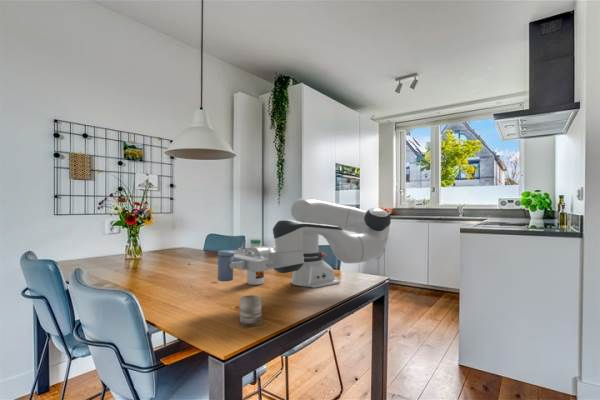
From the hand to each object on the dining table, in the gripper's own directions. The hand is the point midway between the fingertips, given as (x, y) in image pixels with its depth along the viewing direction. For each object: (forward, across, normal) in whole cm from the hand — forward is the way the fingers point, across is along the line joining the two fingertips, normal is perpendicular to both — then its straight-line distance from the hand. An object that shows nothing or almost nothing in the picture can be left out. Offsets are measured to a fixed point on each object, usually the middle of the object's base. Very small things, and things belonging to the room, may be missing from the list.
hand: (223, 264), depth 97 cm
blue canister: (-1, 0, -5) cm, 5 cm away
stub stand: (-4, -10, -17) cm, 20 cm away
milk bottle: (-36, +24, -17) cm, 46 cm away
